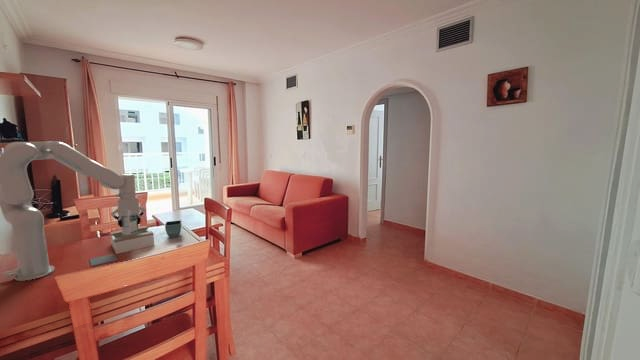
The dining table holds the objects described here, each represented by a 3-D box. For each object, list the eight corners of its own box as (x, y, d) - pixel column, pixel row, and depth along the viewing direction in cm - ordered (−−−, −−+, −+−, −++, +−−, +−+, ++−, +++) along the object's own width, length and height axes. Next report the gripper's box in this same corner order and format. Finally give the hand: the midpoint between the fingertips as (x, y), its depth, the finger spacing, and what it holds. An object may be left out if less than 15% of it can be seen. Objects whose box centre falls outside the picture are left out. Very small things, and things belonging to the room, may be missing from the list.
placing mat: (91, 266, 130) (91, 266, 129) (89, 260, 137) (89, 259, 137) (116, 260, 136) (116, 259, 136) (114, 254, 144) (113, 253, 143)
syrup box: (130, 235, 152) (128, 210, 150) (121, 234, 153) (119, 209, 151) (138, 232, 157) (137, 208, 155) (130, 231, 158) (128, 207, 157)
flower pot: (167, 234, 173) (166, 221, 172) (182, 233, 177) (181, 220, 176) (165, 239, 166) (164, 225, 164) (181, 237, 169) (180, 223, 168)
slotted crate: (116, 253, 144) (114, 240, 143) (111, 244, 157) (110, 232, 156) (154, 245, 157) (153, 232, 156) (147, 236, 169) (146, 225, 168)
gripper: (109, 198, 143) (111, 229, 146) (147, 194, 156) (148, 223, 158) (107, 196, 149) (109, 226, 151) (144, 192, 161) (145, 221, 163)
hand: (129, 225), depth 154 cm, fingers closed on syrup box, 7 cm apart
